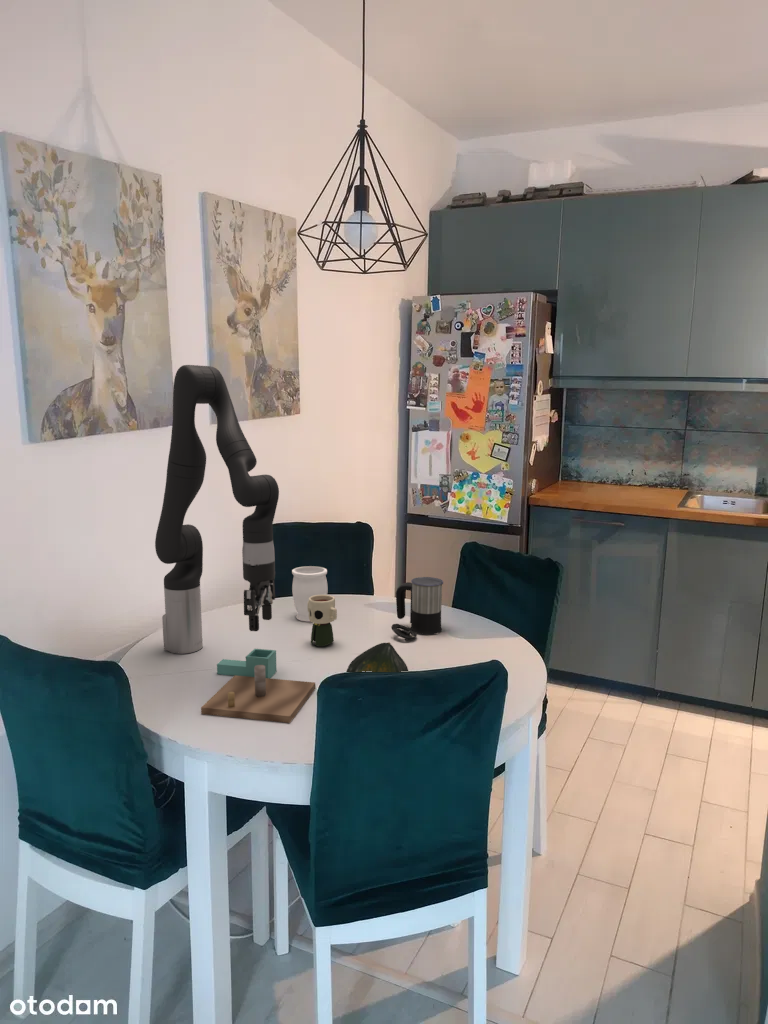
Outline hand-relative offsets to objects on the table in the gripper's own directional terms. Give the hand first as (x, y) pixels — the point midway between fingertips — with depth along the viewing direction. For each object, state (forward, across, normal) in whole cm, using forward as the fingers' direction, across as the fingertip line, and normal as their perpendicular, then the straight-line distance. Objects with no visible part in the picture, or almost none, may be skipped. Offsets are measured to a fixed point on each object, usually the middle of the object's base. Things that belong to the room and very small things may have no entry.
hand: (260, 625), depth 176 cm
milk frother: (+13, -38, +32) cm, 51 cm away
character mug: (+13, -24, +8) cm, 28 cm away
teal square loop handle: (+13, 0, -4) cm, 13 cm away
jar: (+13, -45, -2) cm, 47 cm away
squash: (+13, +11, +31) cm, 35 cm away
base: (+13, +14, +5) cm, 20 cm away
